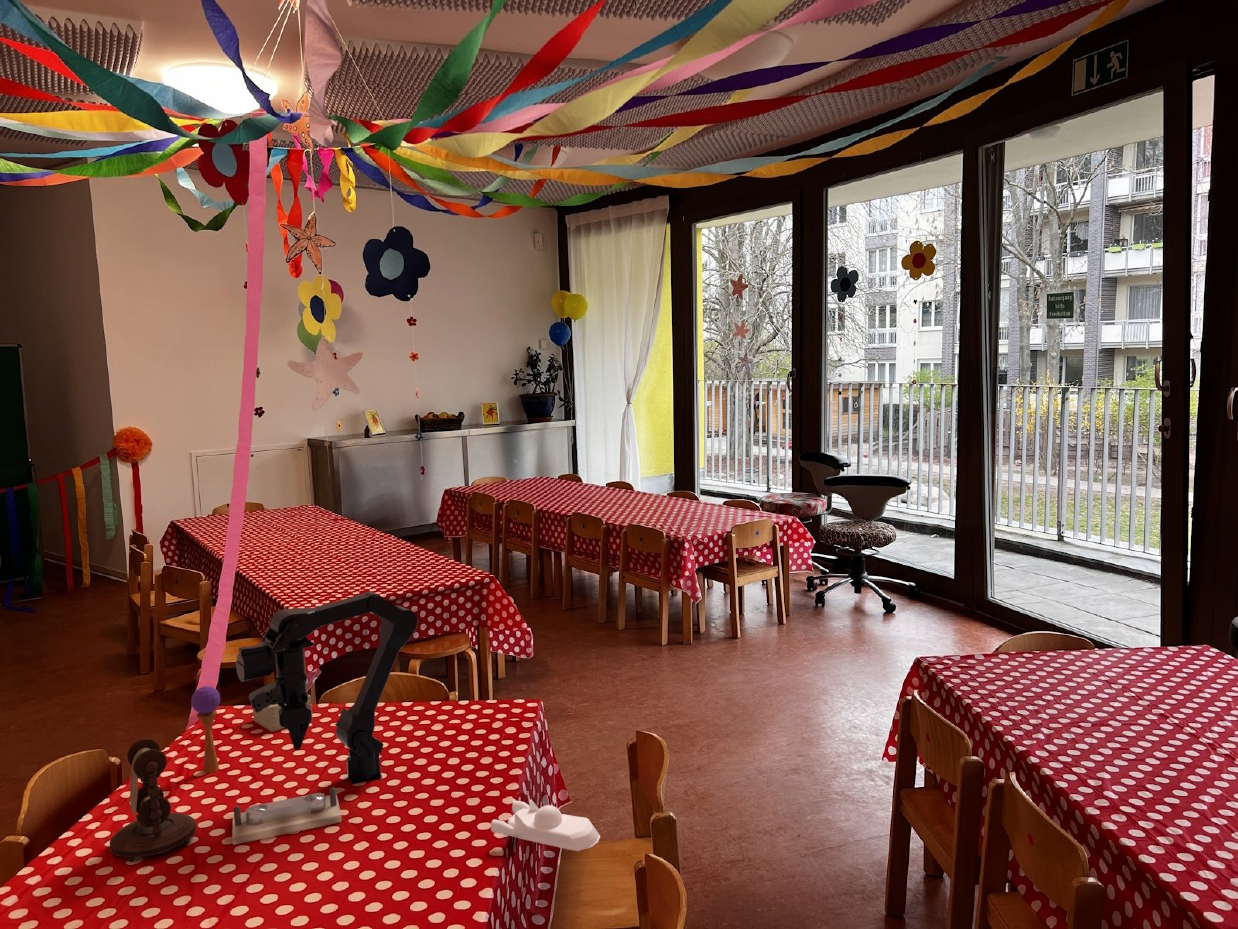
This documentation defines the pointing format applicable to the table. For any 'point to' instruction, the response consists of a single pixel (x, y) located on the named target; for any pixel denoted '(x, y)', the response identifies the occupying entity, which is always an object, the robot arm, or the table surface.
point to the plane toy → (548, 827)
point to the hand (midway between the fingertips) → (296, 741)
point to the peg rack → (285, 822)
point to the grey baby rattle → (285, 809)
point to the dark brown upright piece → (150, 809)
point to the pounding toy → (272, 716)
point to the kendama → (207, 722)
